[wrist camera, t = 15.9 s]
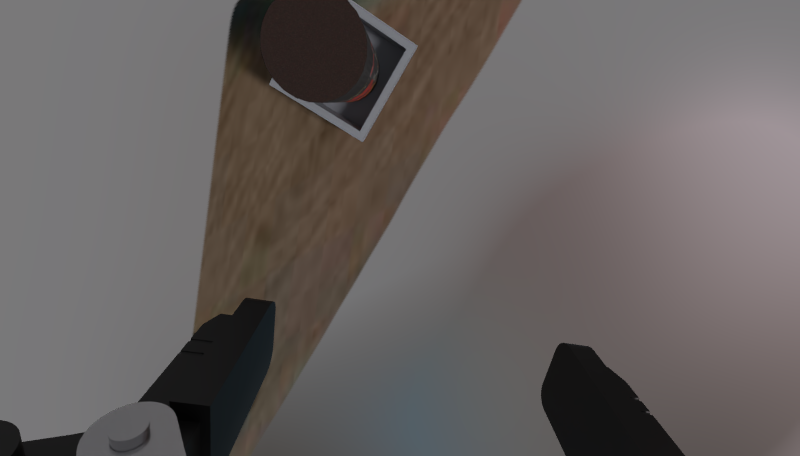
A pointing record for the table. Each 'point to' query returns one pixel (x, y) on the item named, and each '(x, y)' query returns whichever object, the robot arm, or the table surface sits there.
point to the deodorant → (318, 50)
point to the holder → (392, 62)
